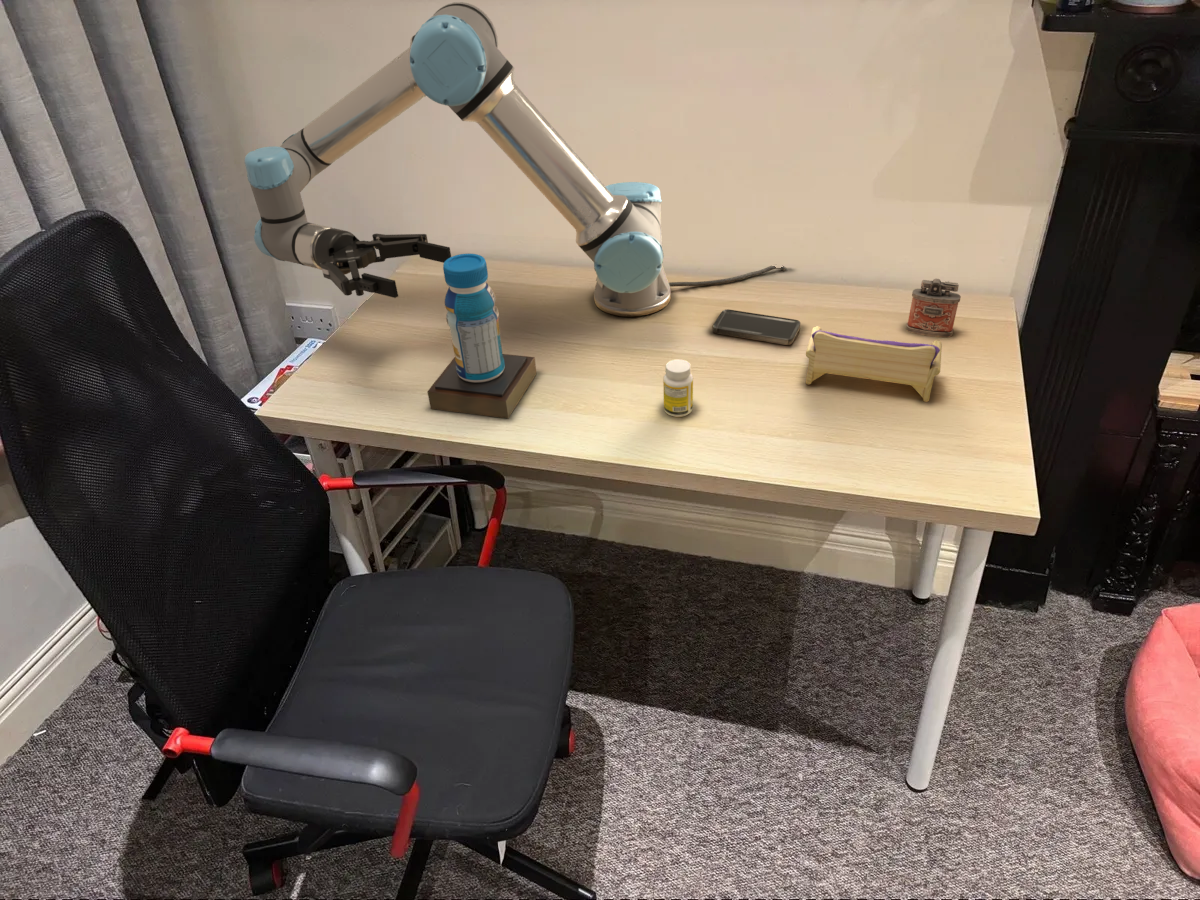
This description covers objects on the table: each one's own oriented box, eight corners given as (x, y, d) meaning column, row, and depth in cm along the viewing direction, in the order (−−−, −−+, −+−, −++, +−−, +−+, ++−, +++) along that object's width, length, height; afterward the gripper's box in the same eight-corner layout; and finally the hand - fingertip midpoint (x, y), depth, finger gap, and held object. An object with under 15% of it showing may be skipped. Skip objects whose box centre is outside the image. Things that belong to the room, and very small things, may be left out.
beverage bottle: (485, 389, 141) (468, 277, 129) (445, 376, 145) (425, 267, 133) (516, 365, 146) (502, 256, 134) (477, 353, 150) (460, 246, 138)
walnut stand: (536, 374, 152) (534, 354, 149) (508, 418, 141) (505, 398, 139) (463, 365, 155) (460, 346, 153) (430, 408, 144) (426, 389, 142)
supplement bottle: (676, 397, 143) (677, 354, 138) (698, 408, 141) (699, 364, 135) (657, 410, 141) (657, 366, 136) (679, 421, 138) (679, 376, 133)
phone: (723, 308, 165) (801, 320, 159) (723, 313, 165) (801, 325, 160) (711, 327, 159) (791, 340, 154) (710, 333, 160) (790, 346, 154)
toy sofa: (935, 375, 145) (946, 321, 139) (933, 403, 138) (945, 348, 132) (809, 359, 151) (814, 307, 145) (801, 385, 144) (807, 332, 138)
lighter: (904, 332, 157) (914, 282, 151) (906, 323, 159) (916, 274, 153) (951, 338, 154) (963, 288, 148) (953, 330, 156) (964, 279, 150)
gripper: (382, 242, 160) (473, 263, 150) (280, 299, 143) (375, 326, 134) (374, 203, 155) (467, 222, 146) (267, 257, 138) (364, 282, 129)
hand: (423, 272), depth 140 cm, fingers open, 13 cm apart
